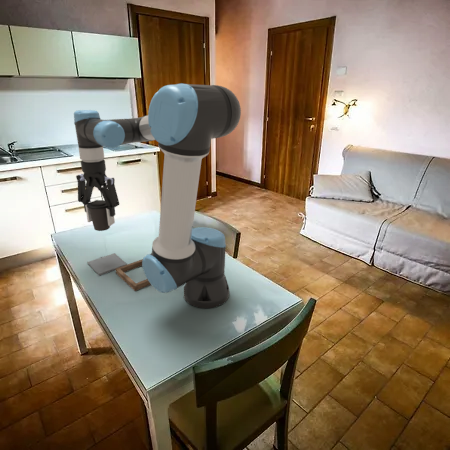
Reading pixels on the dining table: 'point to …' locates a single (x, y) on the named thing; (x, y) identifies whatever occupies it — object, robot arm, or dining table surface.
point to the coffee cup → (98, 214)
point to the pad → (106, 264)
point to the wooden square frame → (128, 280)
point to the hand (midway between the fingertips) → (101, 222)
